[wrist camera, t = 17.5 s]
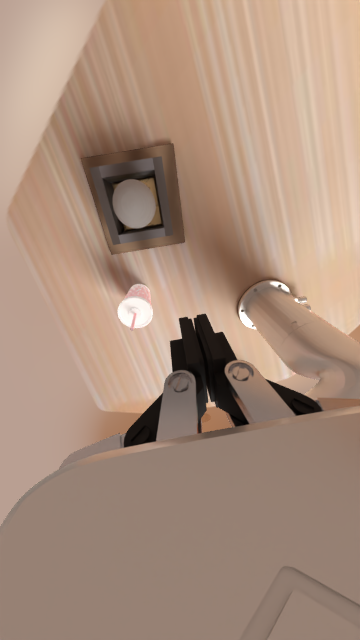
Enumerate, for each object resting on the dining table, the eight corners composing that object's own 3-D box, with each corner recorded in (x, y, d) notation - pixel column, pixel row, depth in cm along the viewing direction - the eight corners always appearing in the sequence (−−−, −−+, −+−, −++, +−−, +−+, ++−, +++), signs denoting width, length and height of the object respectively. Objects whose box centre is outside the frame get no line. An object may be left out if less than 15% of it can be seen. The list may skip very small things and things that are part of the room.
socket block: (172, 145, 29) (176, 128, 23) (184, 241, 36) (189, 248, 30) (82, 159, 29) (63, 147, 23) (112, 253, 36) (103, 262, 30)
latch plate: (153, 178, 30) (153, 177, 29) (161, 223, 33) (161, 223, 32) (114, 185, 30) (112, 184, 29) (125, 229, 33) (124, 229, 32)
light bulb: (115, 203, 30) (98, 201, 22) (139, 176, 29) (130, 163, 20) (139, 231, 33) (133, 239, 24) (163, 208, 31) (164, 208, 23)
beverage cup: (126, 278, 39) (111, 309, 27) (155, 282, 40) (154, 314, 28) (124, 304, 42) (110, 343, 30) (152, 308, 43) (149, 347, 31)
